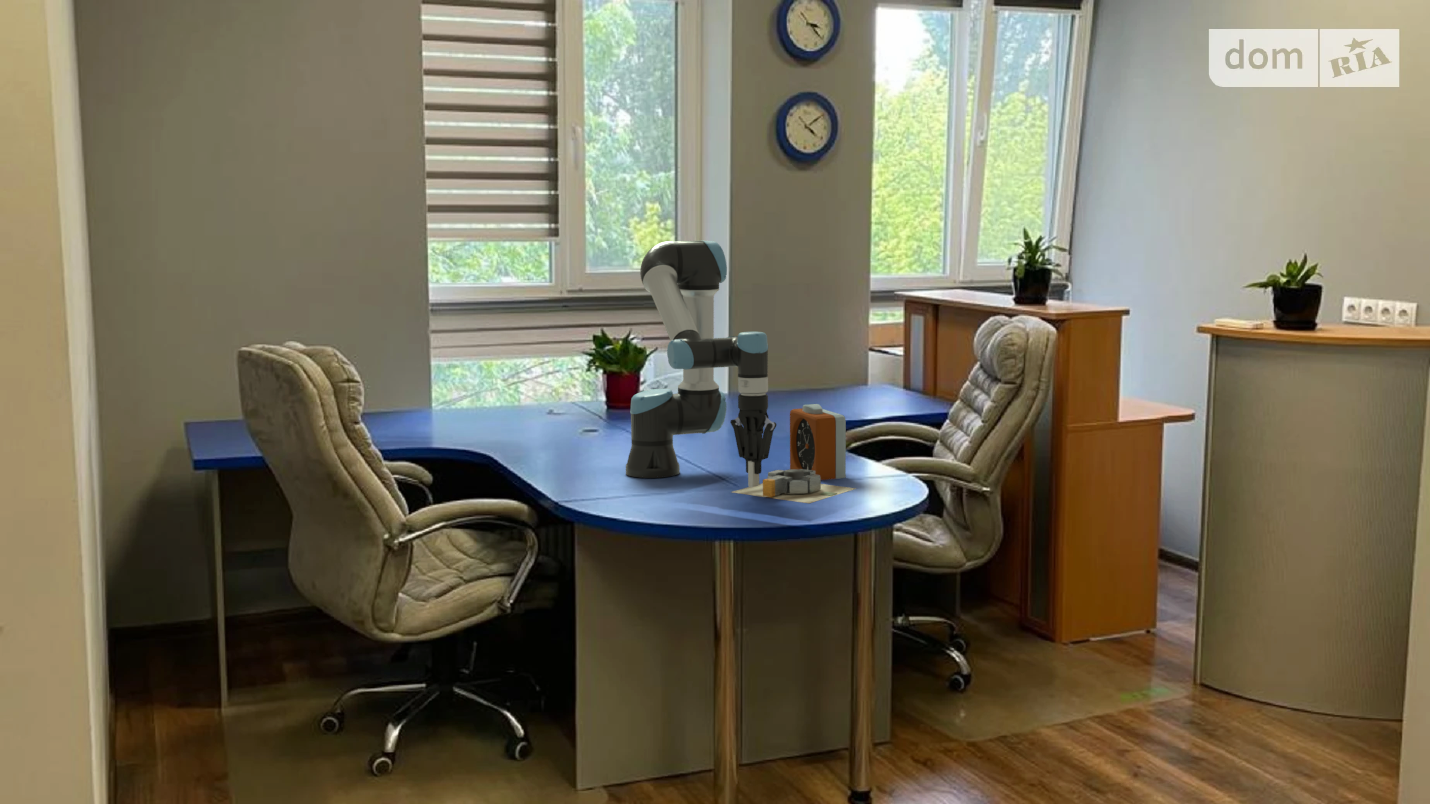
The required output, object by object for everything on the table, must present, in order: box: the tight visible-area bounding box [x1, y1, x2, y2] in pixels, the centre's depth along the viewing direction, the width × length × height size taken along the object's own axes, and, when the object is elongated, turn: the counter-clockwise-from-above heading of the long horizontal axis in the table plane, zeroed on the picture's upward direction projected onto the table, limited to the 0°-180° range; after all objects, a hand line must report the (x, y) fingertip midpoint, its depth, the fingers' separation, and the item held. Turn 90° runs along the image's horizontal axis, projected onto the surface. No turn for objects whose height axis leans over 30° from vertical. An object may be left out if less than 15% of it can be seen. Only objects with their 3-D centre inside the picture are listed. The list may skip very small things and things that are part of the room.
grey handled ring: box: [762, 469, 822, 497], centre depth 342 cm, size 18×13×4 cm
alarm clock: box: [789, 403, 847, 481], centre depth 366 cm, size 18×9×21 cm, turn 21°
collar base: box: [731, 468, 857, 504], centre depth 344 cm, size 24×22×6 cm
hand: (753, 486), depth 340 cm, fingers closed
